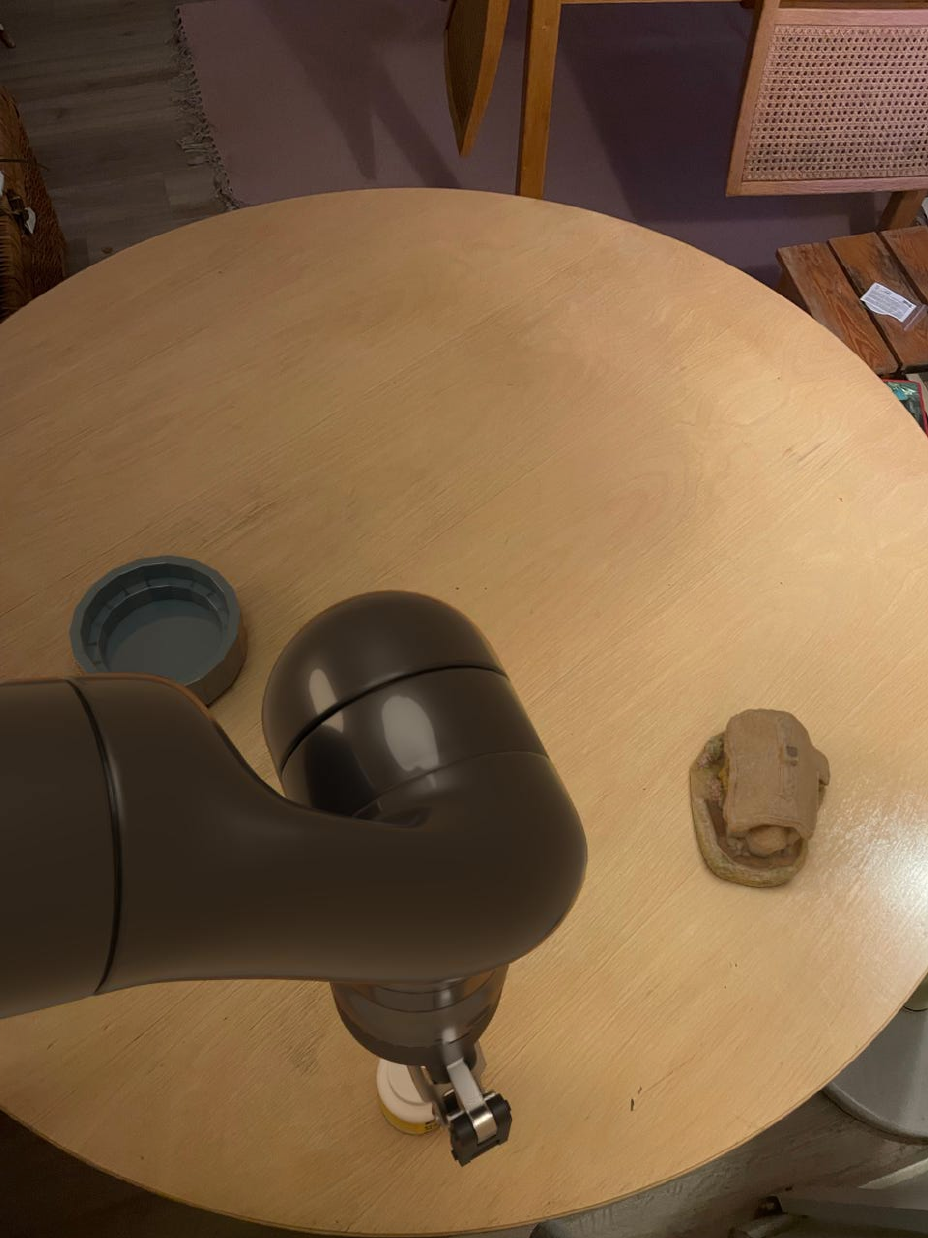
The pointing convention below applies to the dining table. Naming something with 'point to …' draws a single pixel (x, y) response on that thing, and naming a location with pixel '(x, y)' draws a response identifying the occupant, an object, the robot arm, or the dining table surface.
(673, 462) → the dining table surface
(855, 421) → the dining table surface
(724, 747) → the ceramic model
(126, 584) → the bowl
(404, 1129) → the supplement bottle
